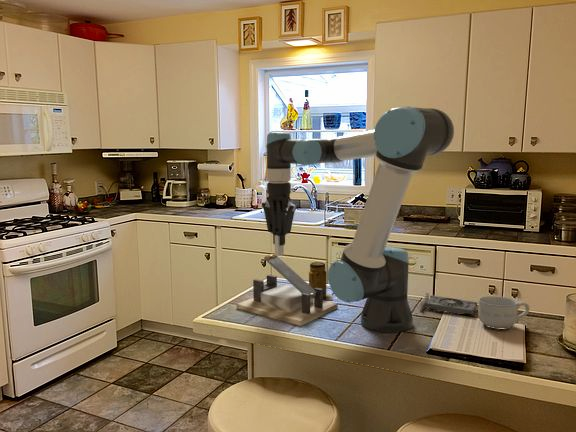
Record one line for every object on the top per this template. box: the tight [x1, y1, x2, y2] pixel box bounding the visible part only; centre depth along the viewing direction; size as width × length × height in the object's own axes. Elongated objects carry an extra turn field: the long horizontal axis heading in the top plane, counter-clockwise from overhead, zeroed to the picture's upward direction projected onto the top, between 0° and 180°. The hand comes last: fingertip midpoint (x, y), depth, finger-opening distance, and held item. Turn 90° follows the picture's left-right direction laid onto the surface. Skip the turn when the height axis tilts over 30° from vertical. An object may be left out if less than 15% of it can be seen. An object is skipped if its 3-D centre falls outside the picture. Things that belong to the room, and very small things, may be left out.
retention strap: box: [263, 253, 319, 299], centre depth 163 cm, size 21×5×2 cm, turn 52°
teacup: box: [477, 295, 530, 329], centre depth 148 cm, size 14×11×8 cm
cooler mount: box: [236, 274, 339, 327], centre depth 165 cm, size 26×20×8 cm
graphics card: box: [419, 292, 478, 315], centre depth 163 cm, size 17×4×12 cm
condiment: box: [308, 261, 333, 301], centre depth 176 cm, size 7×8×12 cm
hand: (279, 254), depth 165 cm, fingers closed
